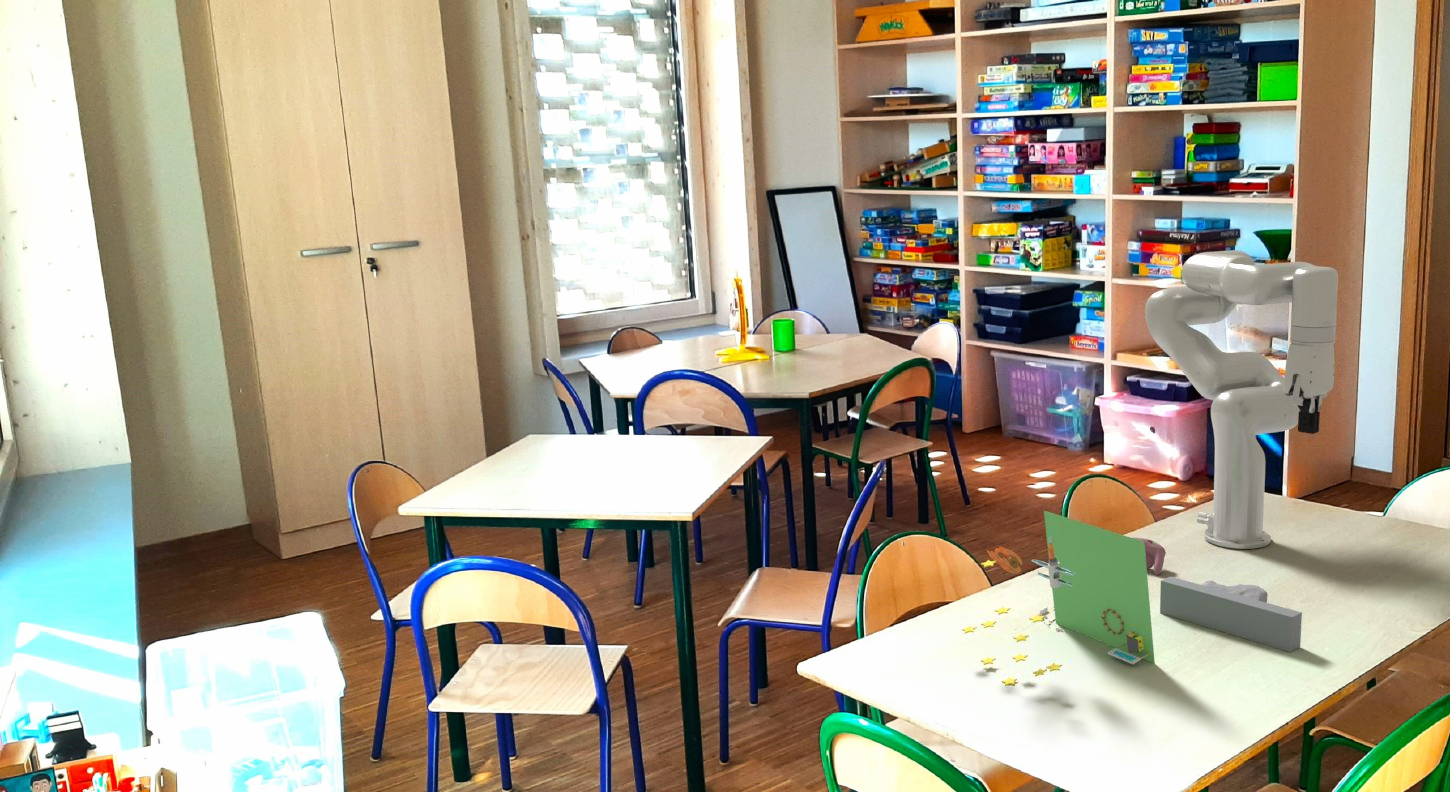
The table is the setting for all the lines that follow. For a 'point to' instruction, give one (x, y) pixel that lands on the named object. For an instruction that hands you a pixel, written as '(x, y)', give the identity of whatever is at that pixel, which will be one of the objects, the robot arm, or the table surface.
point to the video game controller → (1153, 555)
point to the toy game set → (1091, 588)
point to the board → (1231, 613)
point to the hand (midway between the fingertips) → (1308, 431)
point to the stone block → (1241, 590)
